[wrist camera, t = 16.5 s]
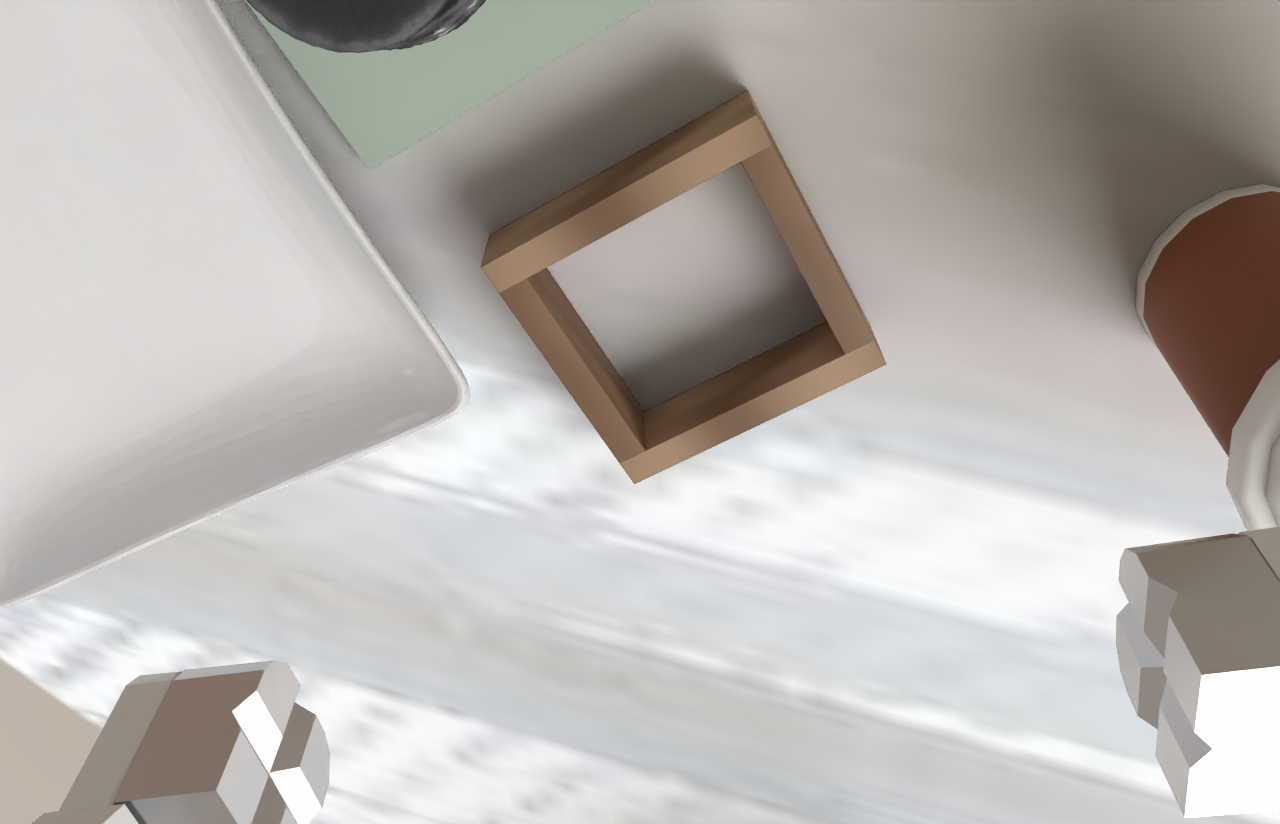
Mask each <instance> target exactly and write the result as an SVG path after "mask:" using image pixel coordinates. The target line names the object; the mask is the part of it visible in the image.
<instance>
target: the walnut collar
mask: <svg viewBox="0 0 1280 824" xmlns="http://www.w3.org/2000/svg"><path fill="white" fill-rule="evenodd" d="M739 162H741V163H742V164H743V166H744V168H745V170H746V172H747V174H748V175H749V177H750V179H751V181H752V183H753V185H754V187H755V188H756V190H757V192H758V194H759V196H760V198H761V199H762V201H763V203H764V205H765V207H766V209H767V211H768V212H769V214H770V216H771V218H772V220H773V222H774V224H775V225H776V227H777V229H778V231H779V233H780V235H781V236H782V238H783V240H784V242H785V244H786V246H787V248H788V249H789V251H790V253H791V255H792V257H793V259H794V260H795V262H796V264H797V266H798V268H799V270H800V272H801V273H802V275H803V277H804V279H805V281H806V283H807V284H808V286H809V288H810V290H811V292H812V294H813V296H814V297H815V299H816V301H817V303H818V305H819V307H820V309H821V310H822V312H823V314H824V316H825V318H826V320H827V321H828V322H826V323H824V324H822V325H820V326H818V327H816V328H814V329H812V330H810V331H808V332H806V333H804V334H802V335H800V336H798V337H796V338H794V339H792V340H789V341H787V342H785V343H783V344H781V345H779V346H777V347H775V348H773V349H771V350H769V351H767V352H765V353H763V354H761V355H759V356H757V357H755V358H753V359H751V360H749V361H747V362H745V363H743V364H741V365H739V366H737V367H735V368H733V369H731V370H729V371H727V372H725V373H723V374H721V375H719V376H716V377H714V378H712V379H710V380H708V381H706V382H704V383H702V384H700V385H698V386H696V387H694V388H692V389H690V390H688V391H686V392H684V393H682V394H680V395H678V396H676V397H674V398H672V399H670V400H668V401H666V402H664V403H662V404H660V405H658V406H656V407H654V408H652V409H650V410H648V411H645V412H644V411H643V410H642V409H641V407H640V406H639V404H638V403H637V401H636V400H635V398H634V397H633V395H632V394H631V392H630V391H629V389H628V388H627V386H626V385H625V383H624V382H623V380H622V379H621V377H620V376H619V374H618V373H617V371H616V370H615V368H614V367H613V366H612V364H611V363H610V361H609V360H608V358H607V357H606V355H605V354H604V352H603V351H602V349H601V348H600V346H599V345H598V343H597V342H596V340H595V339H594V337H593V336H592V334H591V333H590V331H589V330H588V328H587V327H586V325H585V324H584V322H583V321H582V320H581V318H580V317H579V315H578V314H577V312H576V311H575V309H574V308H573V306H572V305H571V303H570V302H569V300H568V299H567V297H566V296H565V294H564V293H563V291H562V290H561V288H560V287H559V285H558V284H557V282H556V281H555V279H554V278H553V277H552V275H551V274H550V272H549V271H548V269H547V268H546V267H548V266H550V265H552V264H554V263H556V262H557V261H559V260H561V259H563V258H565V257H567V256H568V255H570V254H572V253H574V252H576V251H578V250H580V249H581V248H583V247H585V246H587V245H589V244H591V243H592V242H594V241H596V240H598V239H600V238H602V237H603V236H605V235H607V234H609V233H611V232H613V231H614V230H616V229H618V228H620V227H622V226H624V225H625V224H627V223H629V222H631V221H633V220H635V219H636V218H638V217H640V216H642V215H644V214H646V213H647V212H649V211H651V210H653V209H655V208H657V207H658V206H660V205H662V204H664V203H666V202H668V201H669V200H671V199H673V198H675V197H677V196H679V195H680V194H682V193H684V192H686V191H688V190H690V189H692V188H693V187H695V186H697V185H699V184H701V183H703V182H704V181H706V180H708V179H710V178H712V177H714V176H715V175H717V174H719V173H721V172H723V171H725V170H726V169H728V168H730V167H732V166H734V165H736V164H737V163H739ZM481 268H482V270H483V271H484V273H485V274H486V276H487V277H488V278H489V280H490V281H491V283H492V284H493V285H494V287H495V288H496V290H497V291H498V292H499V294H500V295H501V297H502V298H503V299H504V301H505V302H506V304H507V305H508V307H509V308H510V309H511V311H512V312H513V314H514V315H515V316H516V318H517V319H518V321H519V322H520V323H521V325H522V326H523V328H524V329H525V331H526V332H527V333H528V335H529V336H530V338H531V339H532V340H533V342H534V343H535V345H536V346H537V347H538V349H539V350H540V352H541V353H542V355H543V356H544V357H545V359H546V360H547V362H548V363H549V364H550V366H551V367H552V369H553V370H554V371H555V373H556V374H557V376H558V377H559V378H560V380H561V381H562V383H563V384H564V386H565V387H566V388H567V390H568V391H569V393H570V394H571V395H572V397H573V398H574V400H575V401H576V402H577V404H578V405H579V407H580V408H581V410H582V411H583V412H584V414H585V415H586V417H587V418H588V419H589V421H590V422H591V424H592V425H593V426H594V428H595V429H596V431H597V432H598V434H599V435H600V436H601V438H602V439H603V441H604V442H605V443H606V445H607V446H608V448H609V449H610V450H611V452H612V453H613V455H614V456H615V457H616V459H617V460H618V462H619V463H620V465H621V466H622V467H623V469H624V470H625V472H626V473H627V474H628V476H629V477H630V479H631V480H632V481H633V483H634V484H636V483H638V482H640V481H642V480H644V479H646V478H649V477H651V476H653V475H655V474H657V473H659V472H661V471H663V470H665V469H668V468H670V467H672V466H674V465H676V464H678V463H680V462H682V461H684V460H686V459H689V458H691V457H693V456H695V455H697V454H699V453H701V452H703V451H705V450H707V449H710V448H712V447H714V446H716V445H718V444H720V443H722V442H724V441H726V440H729V439H731V438H733V437H735V436H737V435H739V434H741V433H743V432H745V431H747V430H750V429H752V428H754V427H756V426H758V425H760V424H762V423H764V422H766V421H768V420H771V419H773V418H775V417H777V416H779V415H781V414H783V413H785V412H787V411H790V410H792V409H794V408H796V407H798V406H800V405H802V404H804V403H806V402H808V401H811V400H813V399H815V398H817V397H819V396H821V395H823V394H825V393H827V392H829V391H832V390H834V389H836V388H838V387H840V386H842V385H844V384H846V383H848V382H851V381H853V380H855V379H857V378H859V377H861V376H863V375H865V374H867V373H869V372H872V371H874V370H876V369H878V368H880V367H882V366H884V365H886V362H885V360H884V357H883V355H882V353H881V350H880V348H879V345H878V343H877V341H876V338H875V336H874V333H873V331H872V329H871V327H870V325H869V323H868V321H867V319H866V317H865V315H864V313H863V311H862V309H861V307H860V305H859V303H858V302H857V300H856V298H855V296H854V294H853V292H852V290H851V288H850V286H849V284H848V282H847V280H846V278H845V277H844V275H843V273H842V271H841V269H840V267H839V265H838V263H837V261H836V259H835V257H834V255H833V253H832V251H831V250H830V248H829V246H828V244H827V242H826V240H825V238H824V236H823V234H822V232H821V230H820V228H819V226H818V225H817V223H816V221H815V219H814V217H813V215H812V213H811V211H810V209H809V207H808V205H807V203H806V201H805V199H804V198H803V196H802V194H801V192H800V190H799V188H798V186H797V184H796V182H795V180H794V178H793V176H792V174H791V173H790V171H789V169H788V167H787V165H786V163H785V161H784V159H783V157H782V155H781V153H780V151H779V149H778V147H777V146H776V144H775V142H774V140H773V138H772V136H771V134H770V132H769V130H768V128H767V126H766V124H765V122H764V121H763V119H762V117H761V115H760V113H759V111H758V109H757V107H756V105H755V103H754V101H753V99H752V97H751V95H750V94H749V92H748V90H747V91H746V92H744V93H742V94H740V95H738V96H737V97H735V98H733V99H731V100H729V101H728V102H726V103H724V104H722V105H721V106H719V107H717V108H715V109H713V110H712V111H710V112H708V113H706V114H705V115H703V116H701V117H699V118H697V119H696V120H694V121H692V122H690V123H689V124H687V125H685V126H683V127H681V128H680V129H678V130H676V131H674V132H673V133H671V134H669V135H667V136H665V137H664V138H662V139H660V140H658V141H657V142H655V143H653V144H651V145H649V146H648V147H646V148H644V149H642V150H640V151H639V152H637V153H635V154H633V155H632V156H630V157H628V158H626V159H624V160H623V161H621V162H619V163H617V164H616V165H614V166H612V167H610V168H608V169H607V170H605V171H603V172H601V173H600V174H598V175H596V176H594V177H592V178H591V179H589V180H587V181H585V182H584V183H582V184H580V185H578V186H576V187H575V188H573V189H571V190H569V191H568V192H566V193H564V194H562V195H560V196H559V197H557V198H555V199H553V200H551V201H550V202H548V203H546V204H544V205H543V206H541V207H539V208H537V209H535V210H534V211H532V212H530V213H528V214H527V215H525V216H523V217H521V218H519V219H518V220H516V221H514V222H512V223H511V224H509V225H507V226H505V227H503V228H502V229H500V230H498V231H496V232H495V233H493V234H491V235H489V238H488V242H487V246H486V250H485V254H484V258H483V261H482V265H481Z"/></svg>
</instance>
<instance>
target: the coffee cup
mask: <svg viewBox="0 0 1280 824" xmlns="http://www.w3.org/2000/svg"><path fill="white" fill-rule="evenodd" d="M1136 310H1137V313H1138V315H1139V317H1140V319H1141V321H1142V323H1143V326H1144V328H1145V330H1146V332H1147V334H1148V336H1149V337H1150V339H1151V340H1152V341H1153V342H1154V343H1155V344H1156V346H1157V347H1158V349H1159V350H1160V352H1161V354H1162V355H1163V357H1164V358H1165V360H1166V361H1167V363H1168V364H1169V366H1170V367H1171V369H1172V371H1173V372H1174V374H1175V375H1176V377H1177V378H1178V380H1179V381H1180V383H1181V384H1182V386H1183V388H1184V389H1185V391H1186V392H1187V394H1188V395H1189V397H1190V398H1191V400H1192V401H1193V403H1194V404H1195V406H1196V408H1197V409H1198V411H1199V412H1200V414H1201V415H1202V417H1203V418H1204V420H1205V421H1206V423H1207V425H1208V426H1209V428H1210V429H1211V431H1212V432H1213V434H1214V435H1215V437H1216V438H1217V440H1218V442H1219V443H1220V445H1221V446H1222V448H1223V449H1224V451H1225V452H1226V454H1227V455H1228V457H1229V462H1228V470H1227V479H1226V486H1227V488H1228V490H1229V492H1230V494H1231V497H1232V499H1233V501H1234V503H1235V505H1236V508H1237V510H1238V512H1239V514H1240V516H1241V519H1242V521H1243V523H1244V525H1245V528H1246V529H1247V530H1248V531H1252V530H1259V529H1266V528H1273V527H1280V187H1275V186H1271V185H1266V184H1259V185H1253V186H1247V187H1242V188H1236V189H1230V190H1224V191H1221V192H1219V193H1217V194H1216V195H1214V196H1212V197H1210V198H1208V199H1206V200H1204V201H1202V202H1201V203H1199V204H1197V205H1195V206H1193V207H1191V208H1189V209H1187V210H1186V211H1184V212H1183V213H1182V214H1181V215H1180V216H1179V217H1178V218H1177V219H1176V220H1175V221H1174V222H1173V223H1172V224H1171V225H1170V226H1169V227H1168V228H1167V229H1166V230H1165V231H1164V232H1163V233H1162V234H1161V235H1160V236H1159V237H1158V238H1157V239H1156V240H1155V241H1154V243H1153V245H1152V247H1151V249H1150V251H1149V253H1148V255H1147V257H1146V259H1145V261H1144V263H1143V266H1142V268H1141V270H1140V272H1139V274H1138V278H1137V295H1136Z"/></svg>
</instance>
